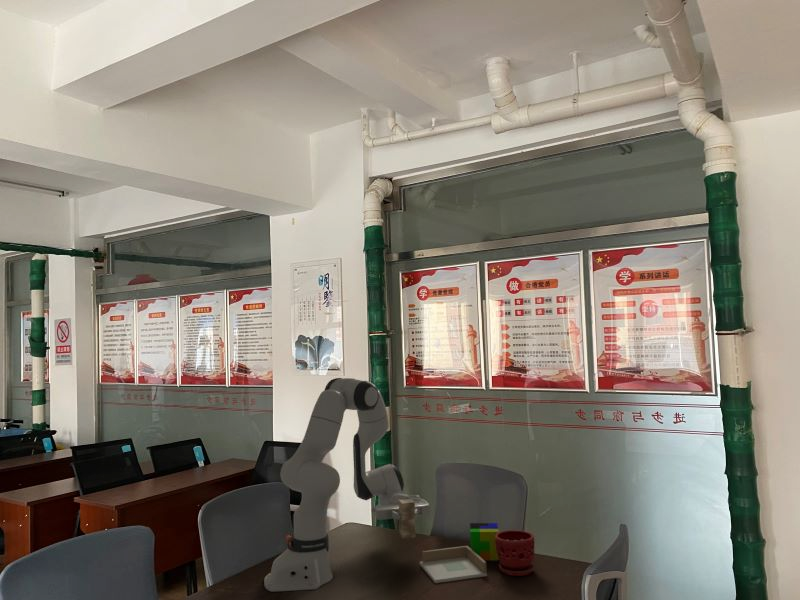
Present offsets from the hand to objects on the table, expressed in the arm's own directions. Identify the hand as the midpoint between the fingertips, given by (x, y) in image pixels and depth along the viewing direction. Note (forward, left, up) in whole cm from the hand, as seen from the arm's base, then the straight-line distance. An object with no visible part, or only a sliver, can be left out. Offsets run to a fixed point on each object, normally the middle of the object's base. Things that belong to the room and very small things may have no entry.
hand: (407, 516), depth 215 cm
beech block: (0, +1, -7) cm, 7 cm away
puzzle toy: (+29, 0, -17) cm, 34 cm away
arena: (+13, -9, -17) cm, 23 cm away
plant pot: (+33, -17, -17) cm, 41 cm away
